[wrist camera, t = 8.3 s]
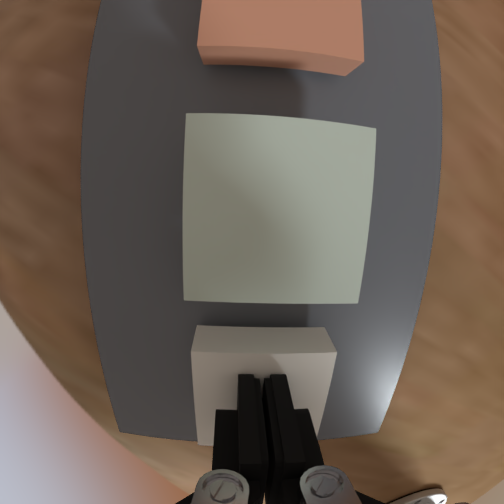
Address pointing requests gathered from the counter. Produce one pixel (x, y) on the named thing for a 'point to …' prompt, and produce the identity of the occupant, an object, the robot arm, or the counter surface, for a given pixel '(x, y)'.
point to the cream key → (258, 368)
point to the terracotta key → (283, 34)
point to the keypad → (171, 204)
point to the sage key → (275, 209)
